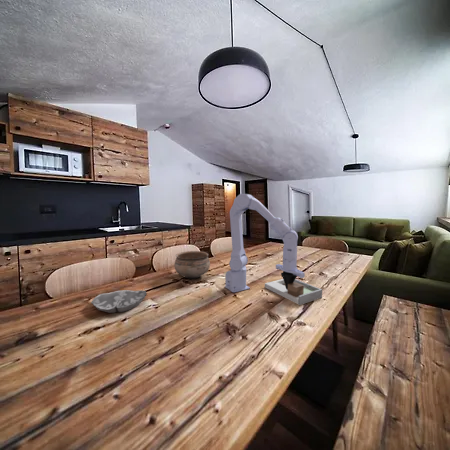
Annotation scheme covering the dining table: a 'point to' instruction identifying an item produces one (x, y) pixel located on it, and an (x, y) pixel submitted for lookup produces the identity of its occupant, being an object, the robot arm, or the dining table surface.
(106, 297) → the brain slice
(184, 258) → the cooking pot
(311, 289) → the board
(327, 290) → the dining table surface
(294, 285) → the walnut block
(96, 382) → the dining table surface
